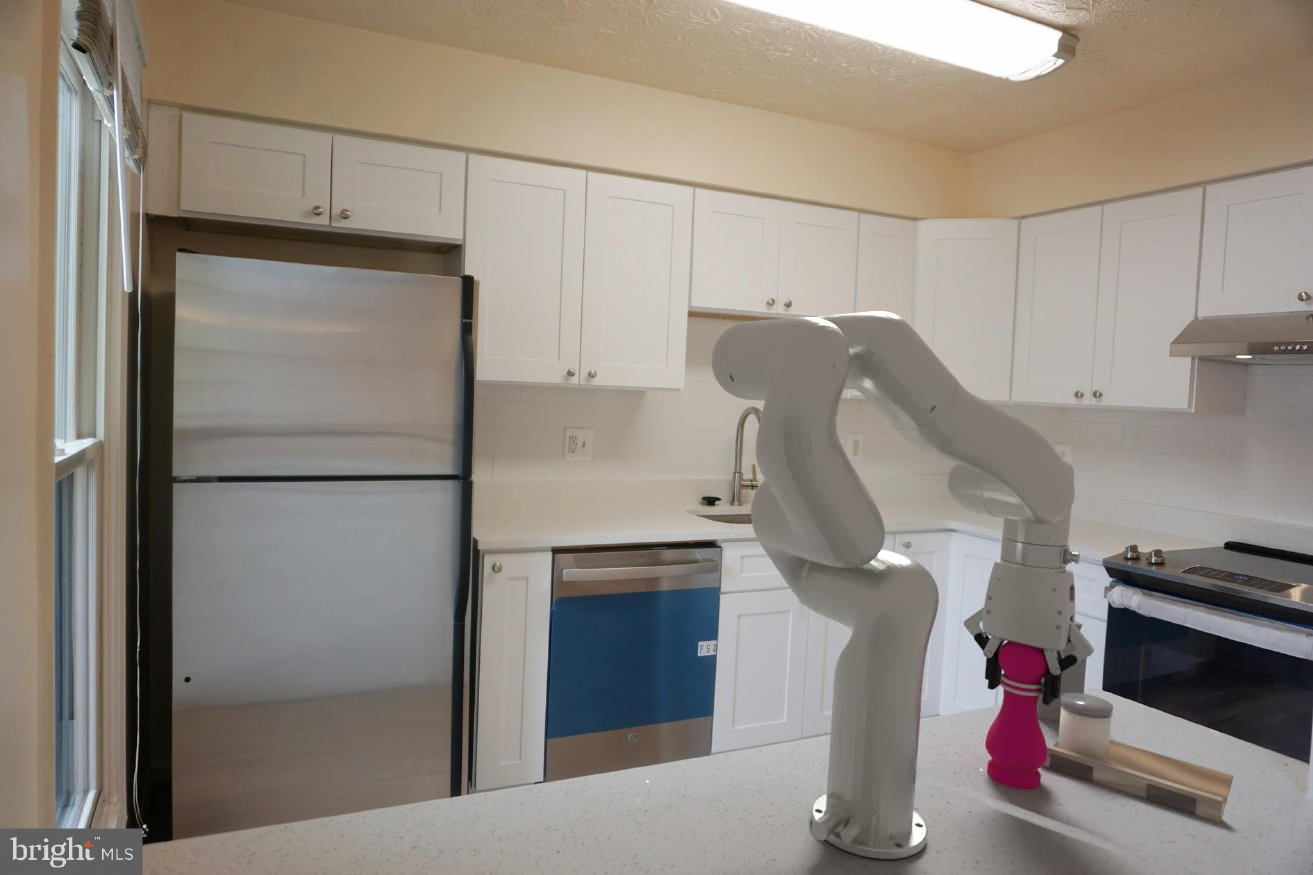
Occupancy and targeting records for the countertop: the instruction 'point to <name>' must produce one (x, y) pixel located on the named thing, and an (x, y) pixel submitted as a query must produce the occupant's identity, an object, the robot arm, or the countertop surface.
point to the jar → (1085, 725)
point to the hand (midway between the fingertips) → (1020, 693)
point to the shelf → (1150, 777)
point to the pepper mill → (1018, 719)
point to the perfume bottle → (1064, 684)
